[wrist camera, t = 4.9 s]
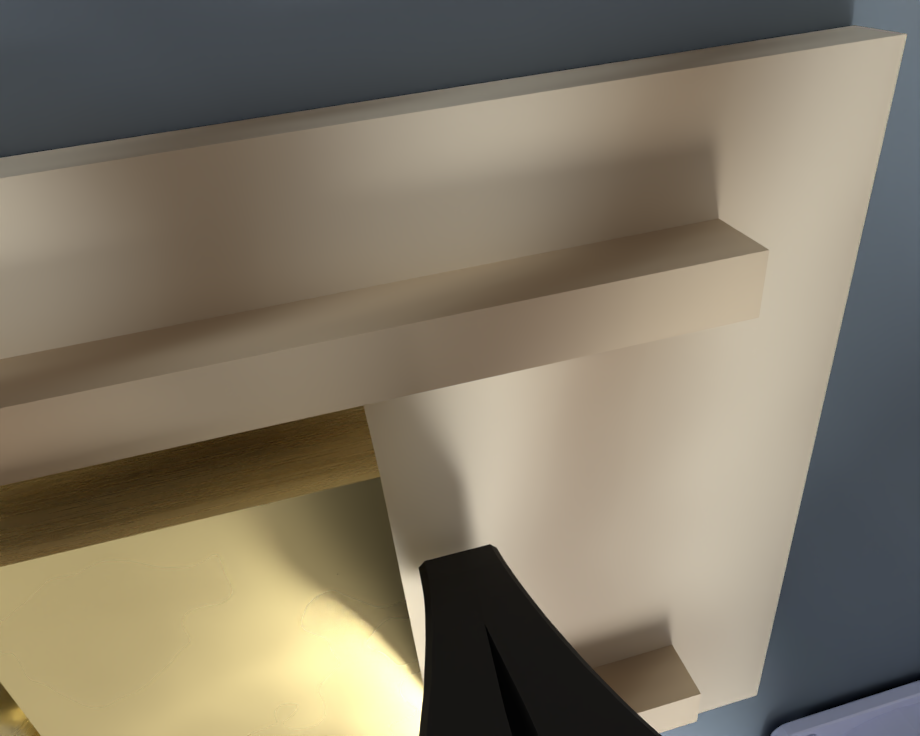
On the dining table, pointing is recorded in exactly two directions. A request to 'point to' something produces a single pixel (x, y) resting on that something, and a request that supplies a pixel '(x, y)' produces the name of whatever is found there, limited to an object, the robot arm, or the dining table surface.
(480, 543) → the jig board
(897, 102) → the dining table surface
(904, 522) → the dining table surface
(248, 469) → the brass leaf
